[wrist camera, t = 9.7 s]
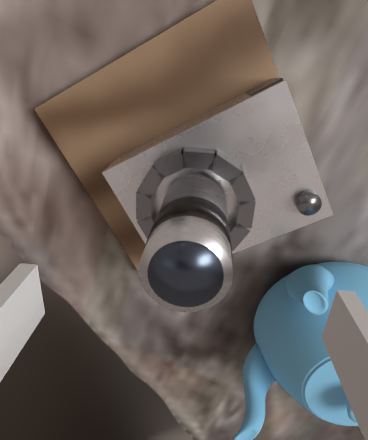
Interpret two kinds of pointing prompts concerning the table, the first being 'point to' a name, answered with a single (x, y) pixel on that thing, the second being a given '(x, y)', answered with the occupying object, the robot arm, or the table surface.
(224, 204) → the lens
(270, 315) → the teapot
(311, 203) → the camera body
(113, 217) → the board
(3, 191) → the table surface
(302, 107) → the table surface
